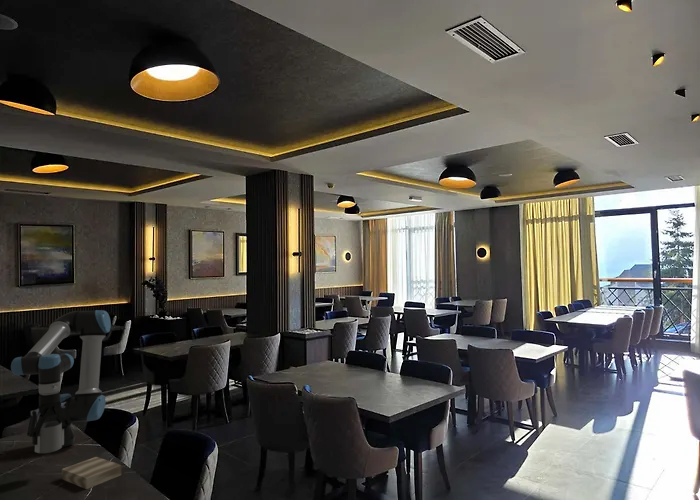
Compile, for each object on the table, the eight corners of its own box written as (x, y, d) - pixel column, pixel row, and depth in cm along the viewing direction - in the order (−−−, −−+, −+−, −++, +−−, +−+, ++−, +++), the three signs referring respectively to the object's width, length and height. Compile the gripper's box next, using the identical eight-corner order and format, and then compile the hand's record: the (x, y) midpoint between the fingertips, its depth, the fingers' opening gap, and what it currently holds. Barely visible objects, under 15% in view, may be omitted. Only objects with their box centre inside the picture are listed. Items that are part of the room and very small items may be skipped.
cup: (49, 453, 184) (49, 428, 184) (32, 452, 186) (32, 427, 186) (66, 445, 192) (66, 421, 193) (49, 444, 194) (49, 420, 194)
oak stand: (61, 479, 185) (61, 469, 185) (96, 466, 197) (96, 456, 197) (86, 489, 176) (86, 478, 176) (121, 475, 187) (121, 465, 188)
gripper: (25, 400, 179) (25, 459, 178) (80, 387, 197) (80, 441, 196) (16, 398, 183) (15, 455, 182) (71, 385, 201) (71, 437, 200)
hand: (49, 448), depth 189 cm, fingers closed on cup, 8 cm apart
